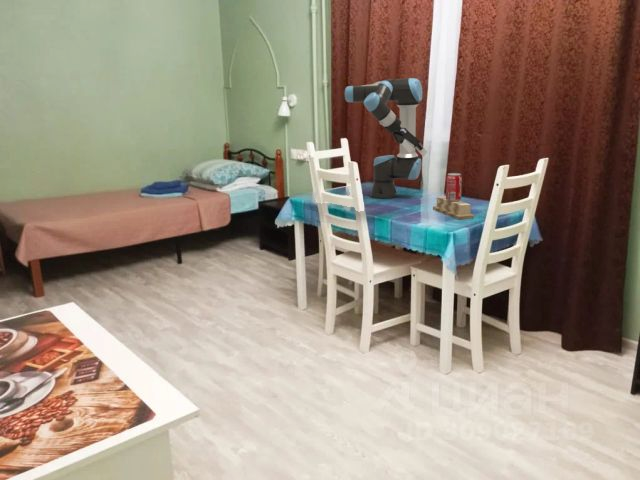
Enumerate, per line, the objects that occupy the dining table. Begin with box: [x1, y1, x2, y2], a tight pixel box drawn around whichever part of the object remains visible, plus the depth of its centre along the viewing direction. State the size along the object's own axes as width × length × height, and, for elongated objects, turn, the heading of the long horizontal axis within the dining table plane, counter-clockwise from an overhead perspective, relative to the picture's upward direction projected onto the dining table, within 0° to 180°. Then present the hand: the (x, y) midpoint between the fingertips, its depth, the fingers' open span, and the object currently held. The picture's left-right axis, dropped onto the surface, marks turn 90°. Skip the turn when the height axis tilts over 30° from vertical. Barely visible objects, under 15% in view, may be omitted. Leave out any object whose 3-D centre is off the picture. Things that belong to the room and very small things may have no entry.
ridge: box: [432, 195, 475, 221], centre depth 251 cm, size 24×8×6 cm, turn 18°
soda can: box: [445, 172, 463, 202], centre depth 248 cm, size 7×7×13 cm
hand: (418, 152), depth 246 cm, fingers open, 13 cm apart
